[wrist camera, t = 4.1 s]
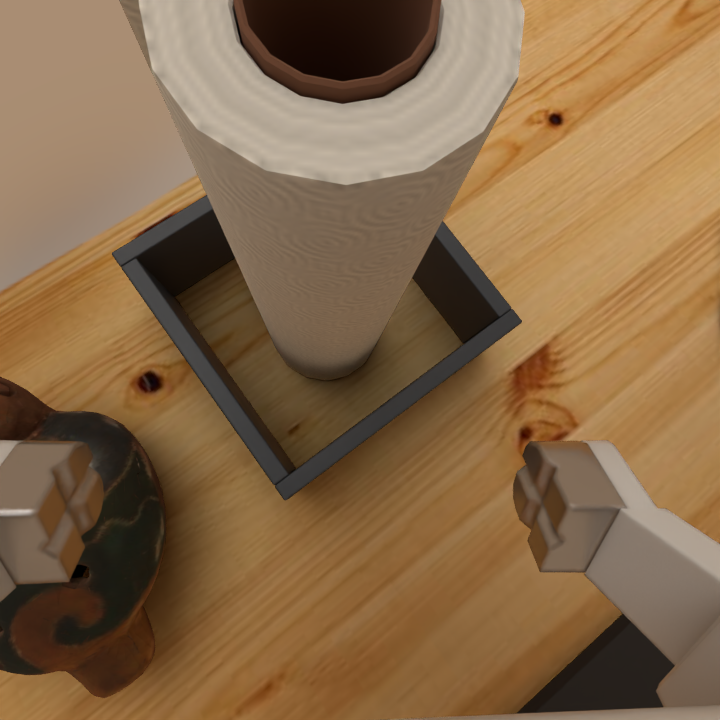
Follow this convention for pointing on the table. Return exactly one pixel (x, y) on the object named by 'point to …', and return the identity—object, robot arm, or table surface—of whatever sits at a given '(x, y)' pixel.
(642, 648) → the mat
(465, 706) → the table surface
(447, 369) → the dark grey square frame
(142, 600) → the decorative turtle
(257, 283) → the paper towel roll
